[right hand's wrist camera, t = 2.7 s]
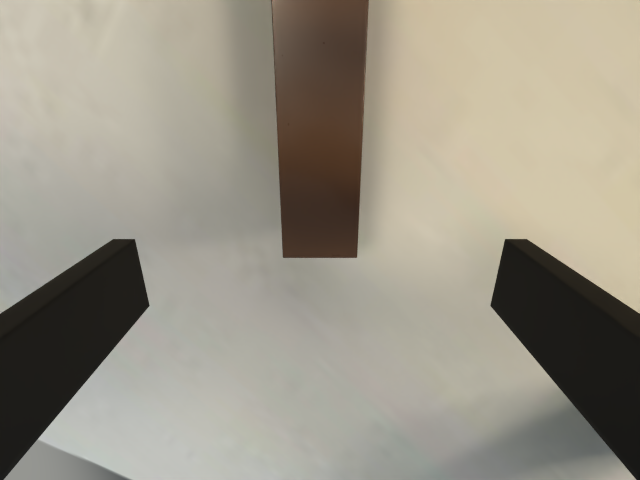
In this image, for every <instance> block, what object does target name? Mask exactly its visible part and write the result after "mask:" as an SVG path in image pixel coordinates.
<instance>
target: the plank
mask: <svg viewBox="0 0 640 480" xmlns="http://www.w3.org/2000/svg"><path fill="white" fill-rule="evenodd" d="M271 1H272V23H273V45H274V68H275V90H276V112H277V135H278V157H279V179H280V202H281V224H282V247H283V258H357V248H358V225H359V203H360V181H361V159H362V136H363V114H364V92H365V70H366V47H367V25H368V3H369V0H271Z"/></svg>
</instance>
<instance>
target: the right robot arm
mask: <svg viewBox="0 0 640 480" xmlns="http://www.w3.org/2000/svg"><path fill="white" fill-rule="evenodd" d="M148 307H149V301H148V297H147V292H146V288H145V283H144V279H143V274H142V270H141V265H140V260H139V256H138V251H137V247H136V242H135V239H113V240H111V241H110V242H108V243H107V244H105V245H104V246H102V247H101V248H99V249H98V250H96V251H95V252H93V253H92V254H90V255H89V256H87V257H86V258H84V259H83V260H81V261H80V262H78V263H77V264H75V265H74V266H72V267H71V268H69V269H67V270H66V271H64V272H63V273H61V274H60V275H58V276H57V277H55V278H54V279H52V280H51V281H49V282H48V283H46V284H45V285H43V286H42V287H40V288H39V289H37V290H36V291H34V292H33V293H31V294H30V295H28V296H27V297H25V298H24V299H22V300H21V301H19V302H18V303H16V304H15V305H13V306H12V307H10V308H9V309H7V310H5V311H4V312H2V313H1V314H0V480H4V478H5V477H6V476H7V475H8V474H9V472H10V471H11V470H12V469H13V468H14V467H15V465H16V464H17V463H18V462H19V460H20V459H21V458H22V457H23V456H24V455H25V453H26V452H27V451H28V450H29V449H30V447H31V446H32V445H33V444H34V443H35V442H36V440H37V439H38V438H39V437H40V436H41V434H42V433H43V432H44V431H45V430H46V428H47V427H48V426H49V425H50V424H51V422H52V421H53V420H54V419H55V418H56V416H57V415H58V414H59V413H60V412H61V411H62V409H63V408H64V407H65V406H66V405H67V403H68V402H69V401H70V400H71V399H72V397H73V396H74V395H75V394H76V393H77V391H78V390H79V389H80V388H81V387H82V386H83V384H84V383H85V382H86V381H87V380H88V378H89V377H90V376H91V375H92V374H93V372H94V371H95V370H96V369H97V368H98V366H99V365H100V364H101V363H102V362H103V360H104V359H105V358H106V357H107V356H108V355H109V353H110V352H111V351H112V350H113V349H114V347H115V346H116V345H117V344H118V343H119V341H120V340H121V339H122V338H123V337H124V335H125V334H126V333H127V332H128V331H129V330H130V328H131V327H132V326H133V325H134V324H135V322H136V321H137V320H138V319H139V318H140V316H141V315H142V314H143V313H144V312H145V310H146V309H147V308H148ZM491 307H492V308H493V309H494V310H495V312H496V313H497V314H498V315H499V316H500V318H501V319H502V320H503V321H504V322H505V324H506V325H507V326H508V327H509V328H510V330H511V331H512V332H513V333H514V334H515V335H516V337H517V338H518V339H519V340H520V341H521V343H522V344H523V345H524V346H525V347H526V349H527V350H528V351H529V352H530V353H531V355H532V356H533V357H534V358H535V359H536V360H537V362H538V363H539V364H540V365H541V366H542V368H543V369H544V370H545V371H546V372H547V374H548V375H549V376H550V377H551V378H552V380H553V381H554V382H555V383H556V384H557V386H558V387H559V388H560V389H561V390H562V391H563V393H564V394H565V395H566V396H567V397H568V399H569V400H570V401H571V402H572V403H573V405H574V406H575V407H576V408H577V409H578V411H579V412H580V413H581V414H582V415H583V416H584V418H585V419H586V420H587V421H588V422H589V424H590V425H591V426H592V427H593V428H594V430H595V431H596V432H597V433H598V434H599V436H600V437H601V438H602V439H603V440H604V442H605V443H606V444H607V445H608V446H609V447H610V449H611V450H612V451H613V452H614V453H615V455H616V456H617V457H618V458H619V459H620V461H621V462H622V463H623V464H624V465H625V467H626V468H627V469H628V470H629V471H630V472H631V474H632V475H633V476H634V477H635V478H636V480H640V314H639V313H638V312H636V311H635V310H633V309H631V308H630V307H628V306H627V305H625V304H624V303H622V302H621V301H619V300H618V299H616V298H615V297H613V296H612V295H610V294H609V293H607V292H606V291H604V290H603V289H601V288H600V287H598V286H597V285H595V284H594V283H592V282H591V281H589V280H588V279H586V278H585V277H583V276H582V275H580V274H579V273H577V272H576V271H574V270H573V269H571V268H569V267H568V266H566V265H565V264H563V263H562V262H560V261H559V260H557V259H556V258H554V257H553V256H551V255H550V254H548V253H547V252H545V251H544V250H542V249H541V248H539V247H538V246H536V245H535V244H533V243H532V242H530V241H529V240H527V239H505V242H504V247H503V251H502V256H501V260H500V265H499V270H498V274H497V279H496V283H495V288H494V292H493V297H492V301H491Z"/></svg>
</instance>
